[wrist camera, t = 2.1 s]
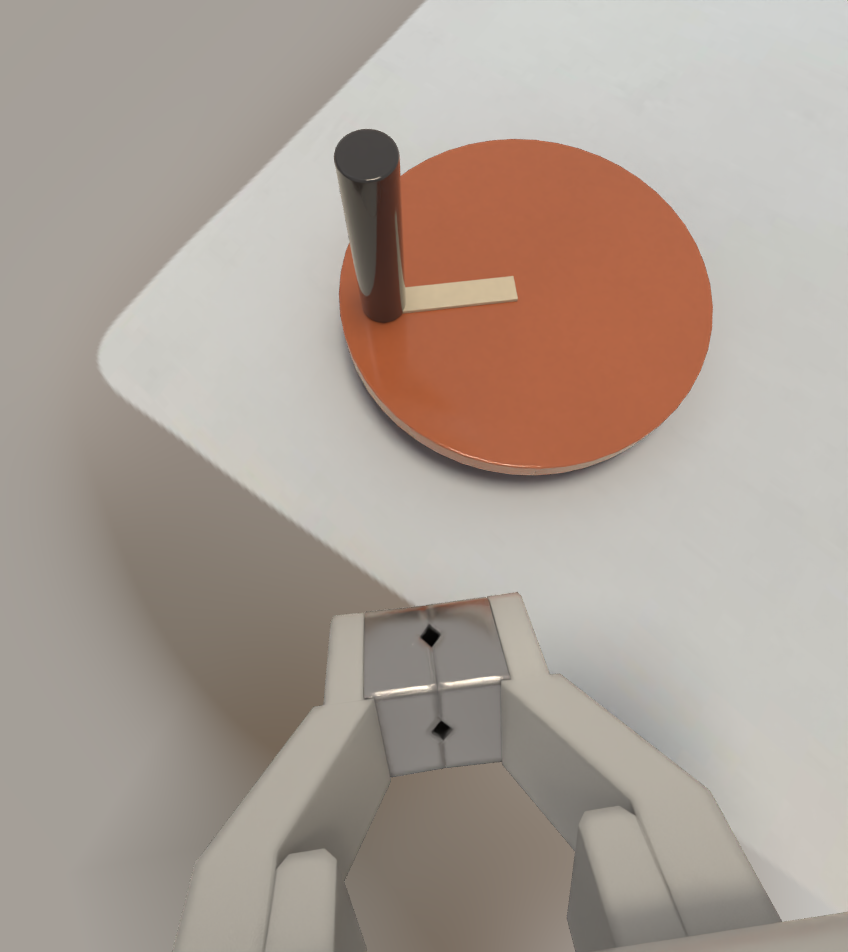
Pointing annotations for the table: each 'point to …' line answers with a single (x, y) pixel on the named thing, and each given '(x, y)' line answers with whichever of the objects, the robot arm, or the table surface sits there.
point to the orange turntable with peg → (518, 300)
